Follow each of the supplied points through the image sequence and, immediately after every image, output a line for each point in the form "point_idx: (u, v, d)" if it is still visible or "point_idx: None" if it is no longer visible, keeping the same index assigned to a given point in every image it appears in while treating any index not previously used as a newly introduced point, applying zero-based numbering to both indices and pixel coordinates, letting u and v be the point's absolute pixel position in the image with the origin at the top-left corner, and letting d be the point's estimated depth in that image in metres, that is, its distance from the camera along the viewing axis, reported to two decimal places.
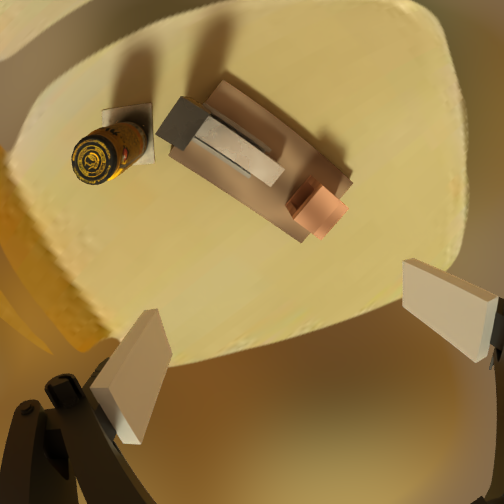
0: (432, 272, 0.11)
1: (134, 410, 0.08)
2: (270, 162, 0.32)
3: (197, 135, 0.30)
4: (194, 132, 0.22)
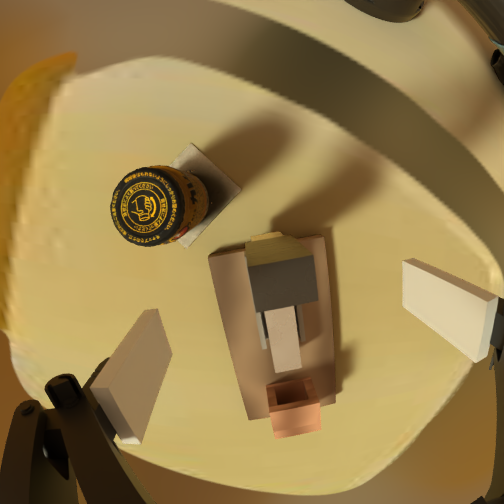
0: (432, 272, 0.11)
1: (134, 410, 0.08)
2: (296, 353, 0.27)
3: None
4: (286, 305, 0.17)
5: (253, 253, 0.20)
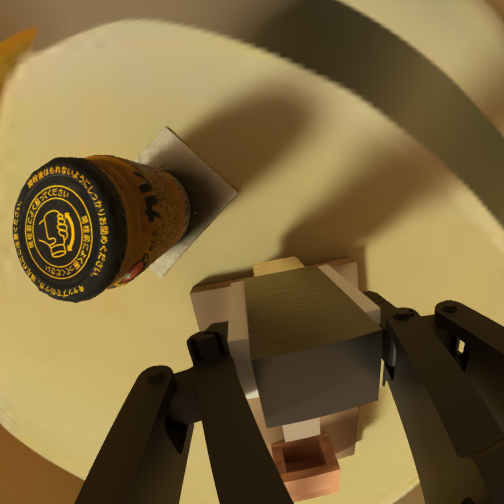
0: (332, 279, 0.13)
1: None
2: (314, 420, 0.18)
3: None
4: (323, 413, 0.08)
5: (260, 312, 0.11)
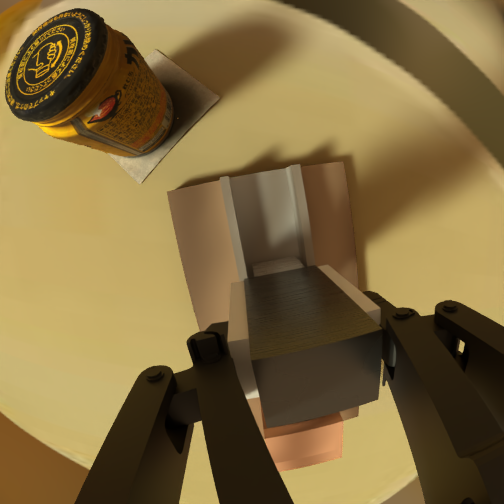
0: (332, 279, 0.13)
1: None
2: None
3: None
4: (323, 413, 0.08)
5: (260, 311, 0.11)
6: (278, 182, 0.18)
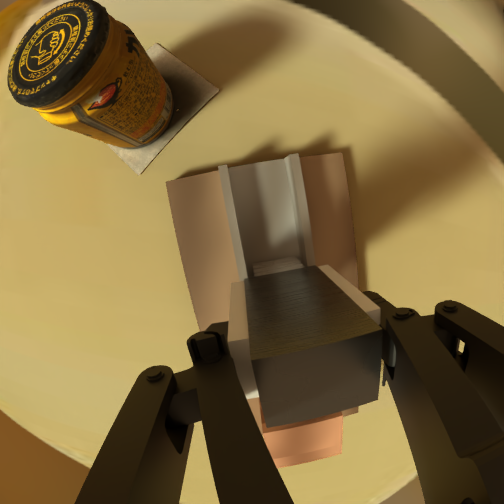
0: (332, 279, 0.13)
1: None
2: None
3: None
4: (323, 413, 0.08)
5: (260, 311, 0.11)
6: (277, 172, 0.17)
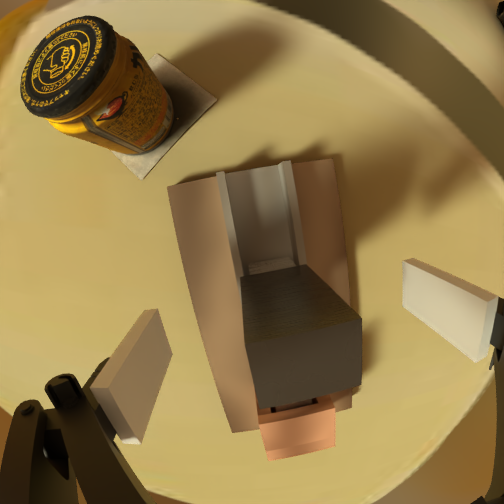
0: (432, 272, 0.11)
1: (134, 410, 0.08)
2: None
3: None
4: (310, 396, 0.09)
5: (254, 304, 0.12)
6: (270, 178, 0.19)
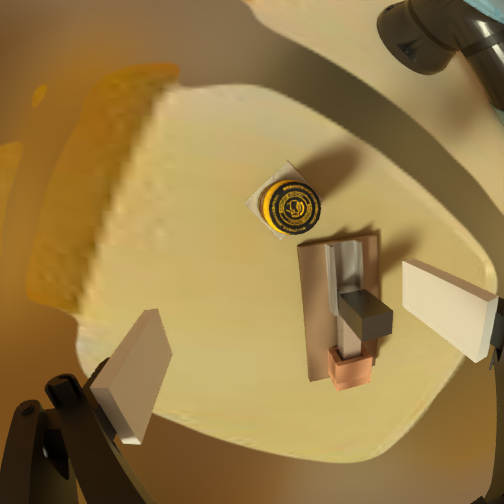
0: (432, 272, 0.11)
1: (134, 410, 0.08)
2: None
3: None
4: (376, 336, 0.29)
5: (355, 306, 0.32)
6: (349, 246, 0.38)
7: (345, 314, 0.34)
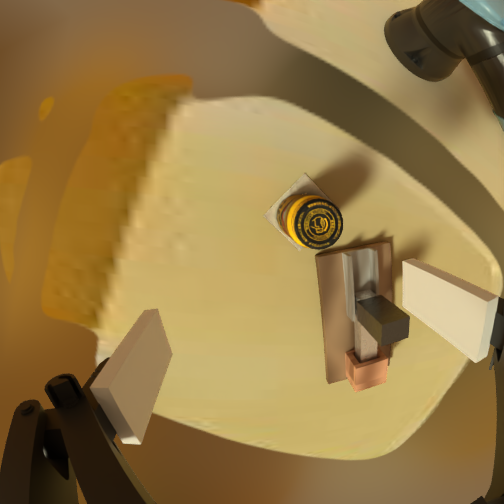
0: (432, 272, 0.11)
1: (134, 410, 0.08)
2: None
3: None
4: (394, 341, 0.30)
5: (374, 313, 0.33)
6: (365, 254, 0.39)
7: (364, 320, 0.35)
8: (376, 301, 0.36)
